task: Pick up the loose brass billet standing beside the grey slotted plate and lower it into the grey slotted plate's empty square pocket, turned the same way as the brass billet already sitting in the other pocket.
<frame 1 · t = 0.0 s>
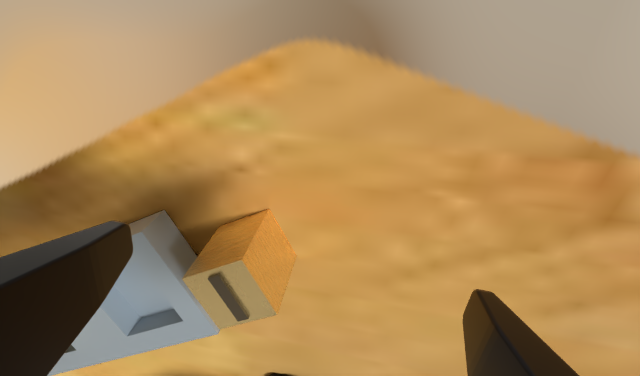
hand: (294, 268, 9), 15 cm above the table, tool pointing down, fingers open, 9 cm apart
grey slotted plate: (102, 293, 33), on the table
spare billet: (258, 240, 28), on the table
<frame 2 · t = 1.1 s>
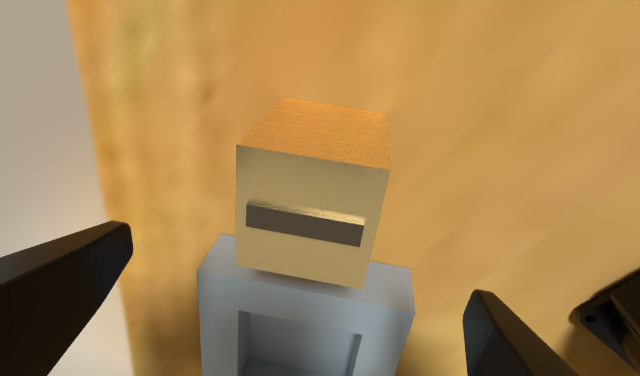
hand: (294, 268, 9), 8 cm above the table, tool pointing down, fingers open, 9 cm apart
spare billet: (327, 152, 17), on the table
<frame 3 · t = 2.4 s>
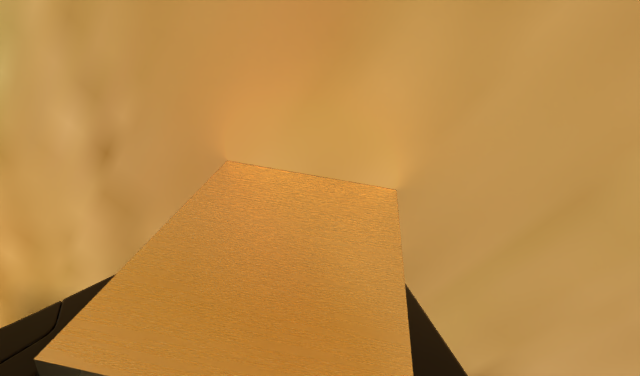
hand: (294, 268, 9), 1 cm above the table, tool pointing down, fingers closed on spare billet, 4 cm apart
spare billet: (301, 244, 10), on the table, touching gripper
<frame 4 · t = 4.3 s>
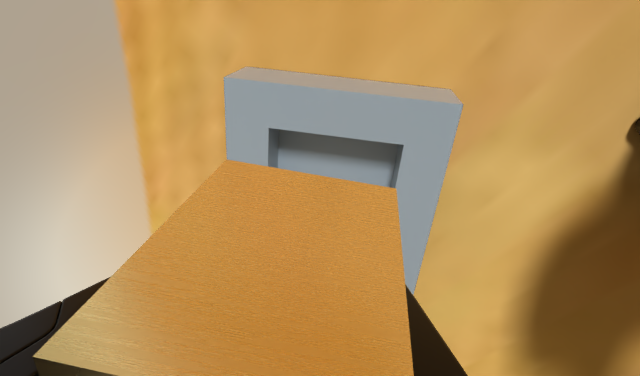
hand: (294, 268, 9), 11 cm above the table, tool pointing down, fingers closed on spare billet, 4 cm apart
grey slotted plate: (325, 258, 23), on the table
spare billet: (301, 243, 10), point 10 cm above the table, touching gripper
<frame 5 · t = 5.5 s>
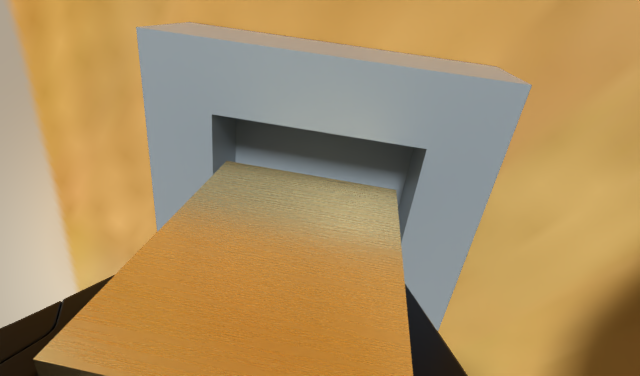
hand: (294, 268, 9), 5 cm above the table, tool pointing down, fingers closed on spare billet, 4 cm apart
grey slotted plate: (304, 297, 17), on the table
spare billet: (301, 244, 10), point 4 cm above the table, touching gripper
when the fingers open (5 cm above the table, at t = 6.3 s): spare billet drops 3 cm, resting on grey slotted plate.
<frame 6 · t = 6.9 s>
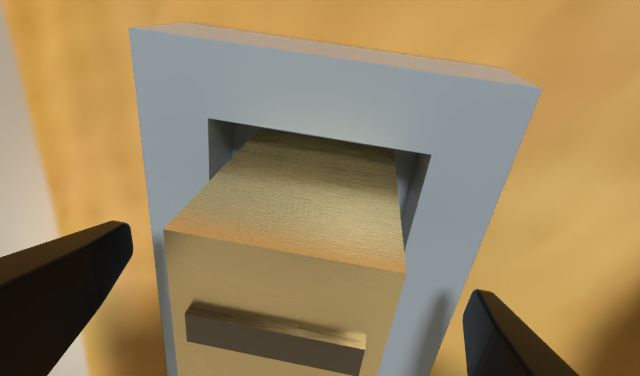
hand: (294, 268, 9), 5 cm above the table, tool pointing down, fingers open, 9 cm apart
grey slotted plate: (304, 304, 16), on the table
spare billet: (317, 199, 13), point 1 cm above the table, touching grey slotted plate
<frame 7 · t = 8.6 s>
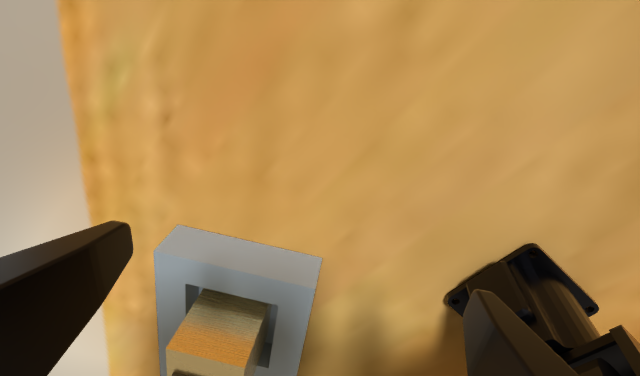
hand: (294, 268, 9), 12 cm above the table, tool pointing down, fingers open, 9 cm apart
grey slotted plate: (238, 350, 30), on the table
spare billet: (240, 306, 26), point 1 cm above the table, touching grey slotted plate
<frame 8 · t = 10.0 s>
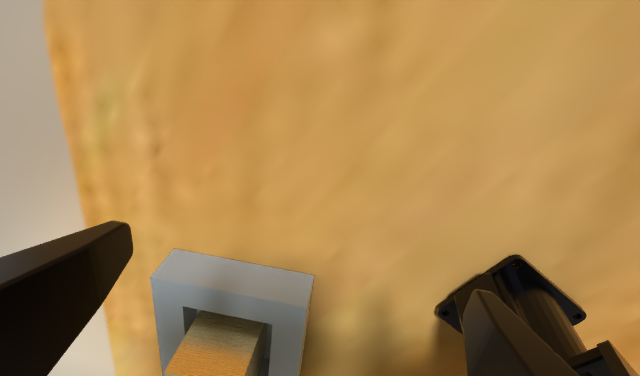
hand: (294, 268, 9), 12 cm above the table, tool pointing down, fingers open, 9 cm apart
grey slotted plate: (240, 366, 30), on the table
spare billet: (238, 324, 27), point 1 cm above the table, touching grey slotted plate
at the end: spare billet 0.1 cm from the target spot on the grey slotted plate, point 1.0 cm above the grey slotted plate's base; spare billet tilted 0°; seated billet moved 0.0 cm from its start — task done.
